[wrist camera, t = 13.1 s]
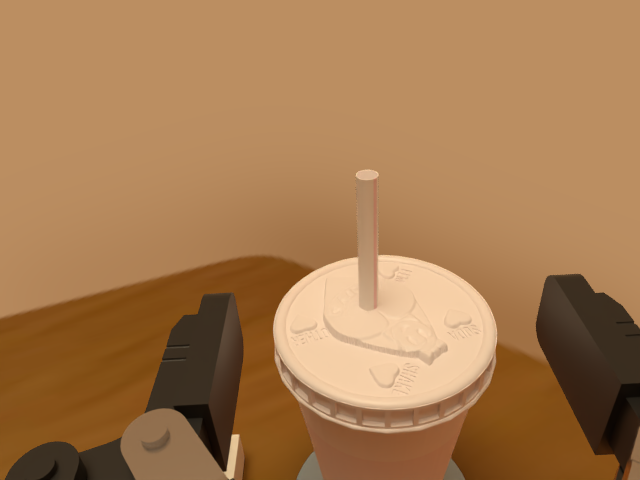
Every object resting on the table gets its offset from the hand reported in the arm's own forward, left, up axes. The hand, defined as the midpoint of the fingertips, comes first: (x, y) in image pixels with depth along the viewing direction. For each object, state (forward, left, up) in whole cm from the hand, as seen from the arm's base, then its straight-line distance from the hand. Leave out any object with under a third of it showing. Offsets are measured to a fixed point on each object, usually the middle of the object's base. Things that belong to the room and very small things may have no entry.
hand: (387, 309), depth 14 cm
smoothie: (0, +1, -11) cm, 11 cm away
